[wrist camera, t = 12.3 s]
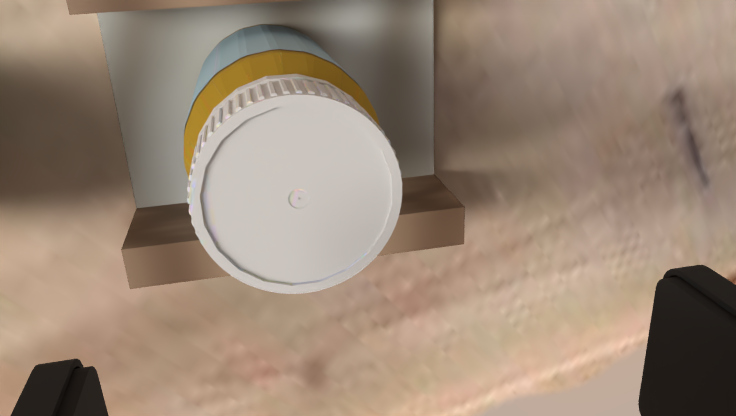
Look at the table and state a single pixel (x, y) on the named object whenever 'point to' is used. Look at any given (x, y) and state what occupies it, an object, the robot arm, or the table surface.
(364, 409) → the table surface
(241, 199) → the bottle
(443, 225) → the u rest
